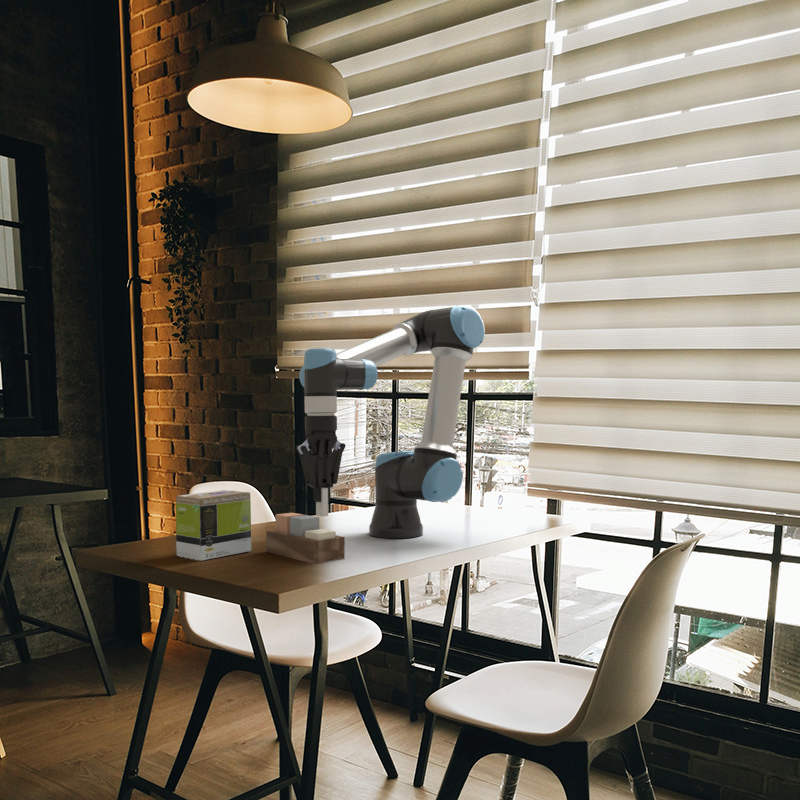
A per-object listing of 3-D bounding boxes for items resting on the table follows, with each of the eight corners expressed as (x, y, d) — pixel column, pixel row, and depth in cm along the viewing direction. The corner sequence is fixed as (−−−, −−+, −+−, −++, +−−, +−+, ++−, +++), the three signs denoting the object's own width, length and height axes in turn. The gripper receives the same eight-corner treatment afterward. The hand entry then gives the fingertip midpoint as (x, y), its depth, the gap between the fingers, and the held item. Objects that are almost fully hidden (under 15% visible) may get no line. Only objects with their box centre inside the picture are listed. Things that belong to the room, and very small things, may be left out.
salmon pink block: (292, 535, 182) (292, 512, 182) (303, 537, 178) (304, 514, 178) (275, 537, 178) (275, 514, 178) (286, 539, 174) (286, 516, 175)
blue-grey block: (307, 538, 177) (307, 515, 177) (319, 540, 173) (319, 517, 173) (289, 540, 174) (290, 517, 174) (301, 543, 170) (302, 519, 170)
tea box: (226, 547, 183) (226, 488, 183) (252, 552, 177) (252, 491, 177) (174, 556, 172) (175, 493, 172) (200, 562, 165) (200, 497, 165)
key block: (296, 547, 183) (297, 527, 184) (344, 558, 169) (344, 537, 169) (266, 551, 177) (266, 531, 177) (313, 563, 163) (313, 541, 163)
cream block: (322, 552, 172) (322, 528, 172) (335, 555, 169) (335, 531, 169) (305, 555, 169) (305, 531, 169) (317, 558, 165) (318, 533, 165)
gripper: (333, 414, 177) (334, 511, 176) (288, 415, 168) (289, 517, 168) (352, 414, 171) (353, 514, 171) (307, 415, 162) (308, 520, 162)
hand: (322, 515), depth 169 cm, fingers closed
